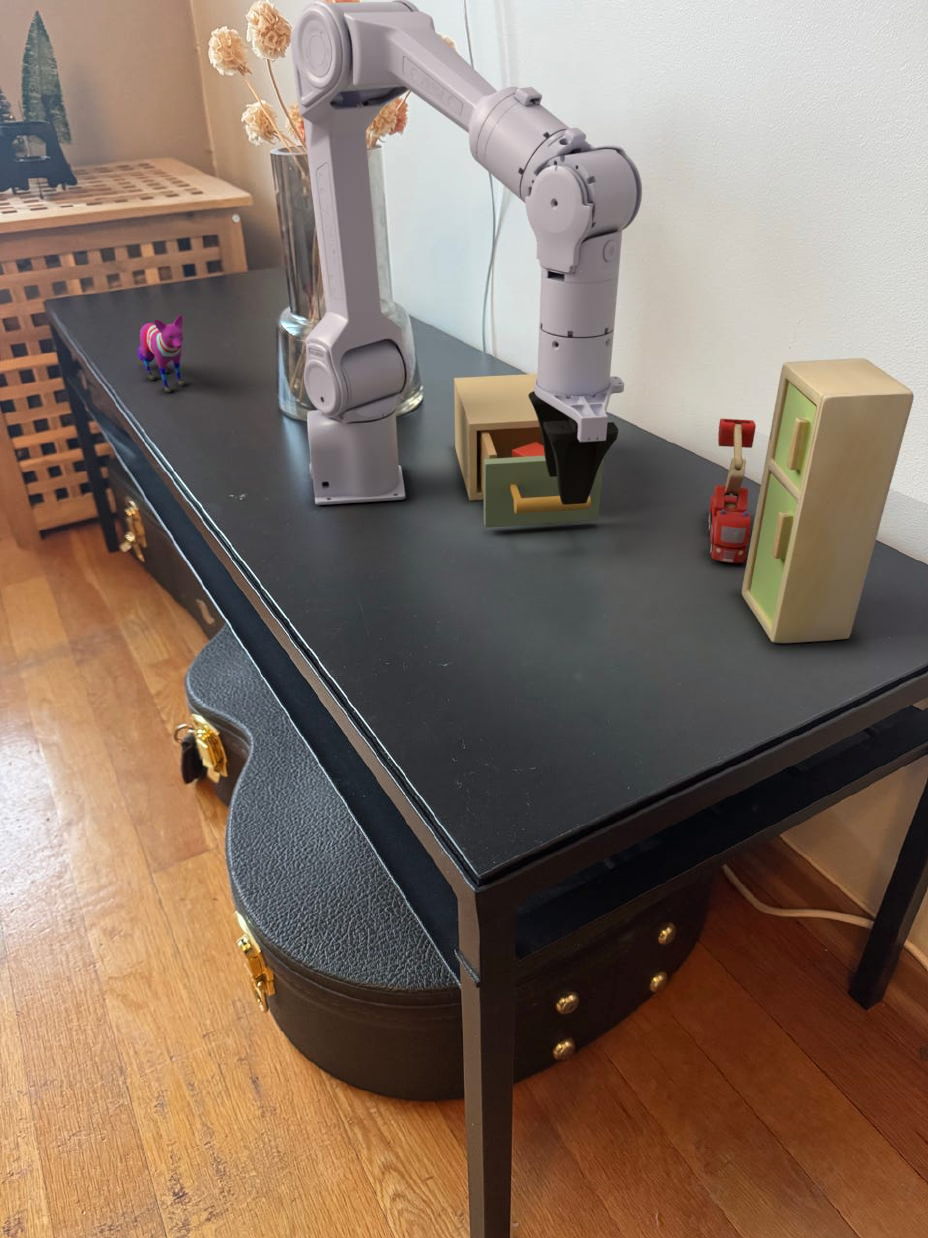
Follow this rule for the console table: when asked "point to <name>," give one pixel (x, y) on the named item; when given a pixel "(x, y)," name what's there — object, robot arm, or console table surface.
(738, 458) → the toy fire truck
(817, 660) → the console table surface
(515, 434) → the cabinet drawer
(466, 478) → the wooden drawer cabinet
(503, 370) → the console table surface
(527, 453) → the toy car
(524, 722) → the console table surface
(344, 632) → the console table surface
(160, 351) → the toy dog
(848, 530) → the toy refrigerator
